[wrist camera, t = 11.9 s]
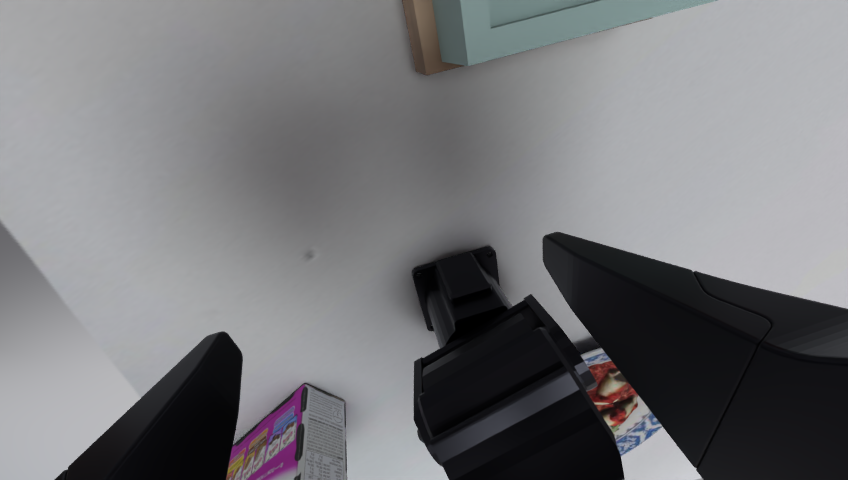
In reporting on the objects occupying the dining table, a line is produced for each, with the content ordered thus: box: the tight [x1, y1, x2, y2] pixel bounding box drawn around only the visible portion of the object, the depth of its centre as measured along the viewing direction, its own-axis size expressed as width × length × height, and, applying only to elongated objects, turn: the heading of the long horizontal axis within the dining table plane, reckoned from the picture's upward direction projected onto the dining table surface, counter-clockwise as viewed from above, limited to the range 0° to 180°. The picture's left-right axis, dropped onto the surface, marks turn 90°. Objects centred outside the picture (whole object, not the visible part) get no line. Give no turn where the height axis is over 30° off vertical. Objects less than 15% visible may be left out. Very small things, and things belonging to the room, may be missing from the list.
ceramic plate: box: [581, 348, 663, 456], centre depth 39 cm, size 26×26×3 cm
